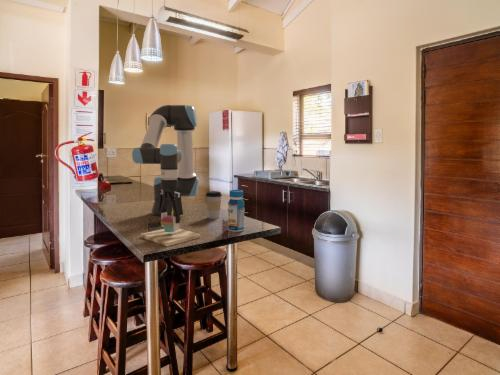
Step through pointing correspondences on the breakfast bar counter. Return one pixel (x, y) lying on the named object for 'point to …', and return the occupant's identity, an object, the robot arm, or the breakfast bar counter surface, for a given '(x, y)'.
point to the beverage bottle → (236, 211)
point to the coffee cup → (213, 204)
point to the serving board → (170, 236)
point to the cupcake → (168, 223)
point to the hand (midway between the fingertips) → (170, 228)
